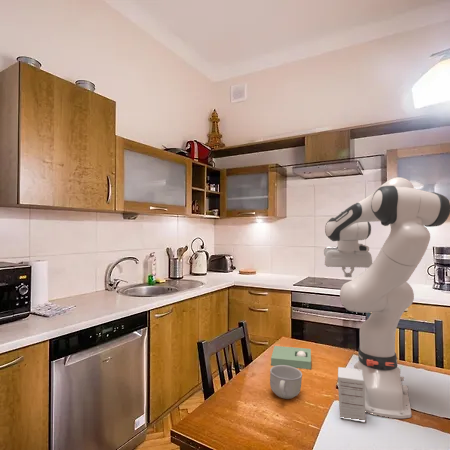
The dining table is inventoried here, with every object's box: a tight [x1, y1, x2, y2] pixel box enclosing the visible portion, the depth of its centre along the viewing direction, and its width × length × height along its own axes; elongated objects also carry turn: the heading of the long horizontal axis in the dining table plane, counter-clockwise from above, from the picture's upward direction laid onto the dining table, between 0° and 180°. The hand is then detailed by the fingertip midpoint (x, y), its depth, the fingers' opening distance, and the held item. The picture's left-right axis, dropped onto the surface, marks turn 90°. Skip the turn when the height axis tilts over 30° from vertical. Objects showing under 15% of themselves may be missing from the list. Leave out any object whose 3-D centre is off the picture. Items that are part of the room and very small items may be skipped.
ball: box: [297, 351, 306, 357], centre depth 137 cm, size 4×4×4 cm
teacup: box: [269, 365, 303, 400], centre depth 109 cm, size 14×11×8 cm
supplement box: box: [337, 366, 367, 422], centre depth 98 cm, size 7×7×13 cm
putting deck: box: [270, 345, 312, 370], centre depth 138 cm, size 14×16×3 cm
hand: (348, 277), depth 146 cm, fingers closed
